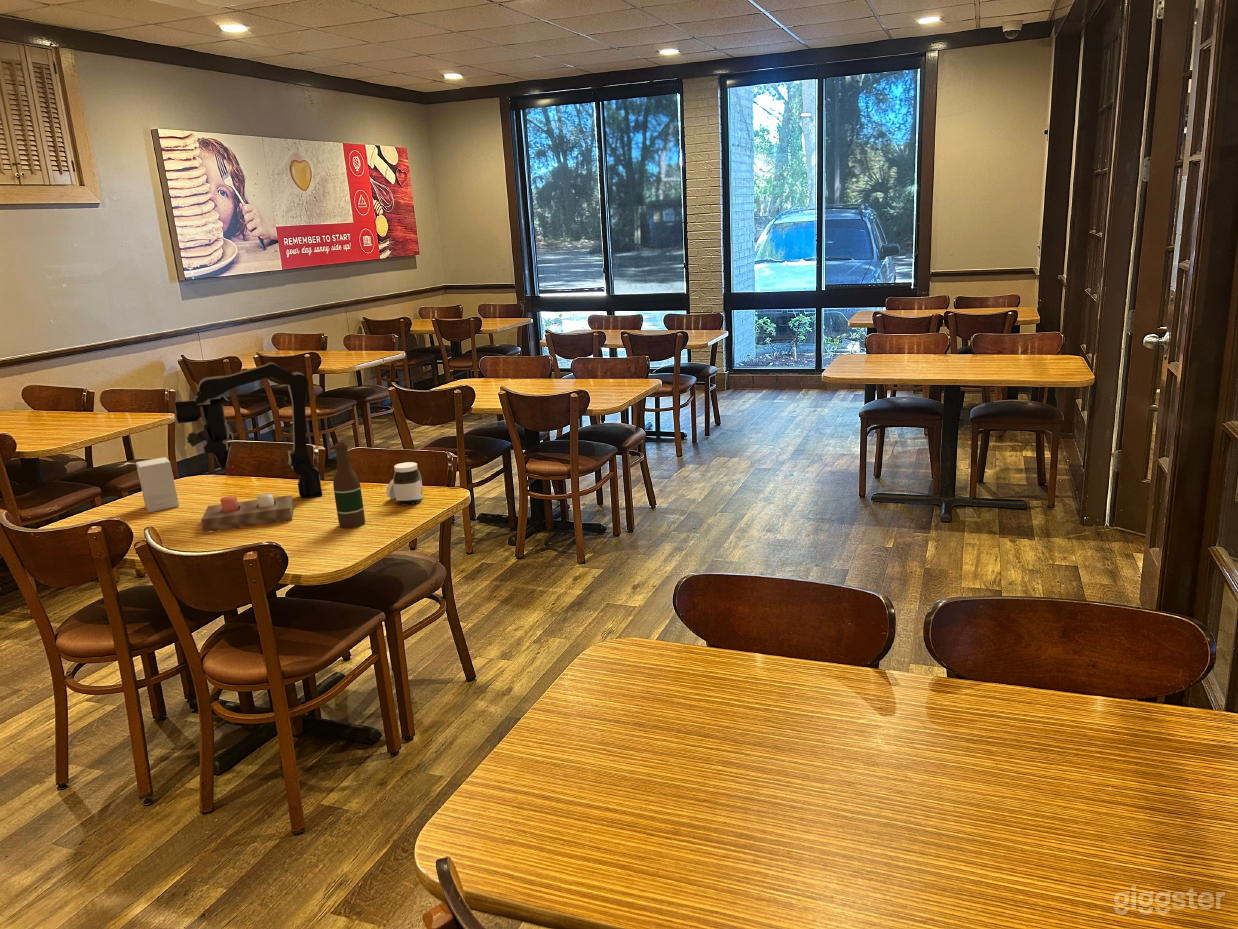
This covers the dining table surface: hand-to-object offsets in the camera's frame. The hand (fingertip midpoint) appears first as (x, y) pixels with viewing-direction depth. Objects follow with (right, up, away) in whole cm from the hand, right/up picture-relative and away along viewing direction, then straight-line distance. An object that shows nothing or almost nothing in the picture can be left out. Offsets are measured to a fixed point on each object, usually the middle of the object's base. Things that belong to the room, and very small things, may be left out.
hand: (223, 468), depth 273 cm
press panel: (+12, -15, -9) cm, 21 cm away
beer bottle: (+45, -16, -18) cm, 51 cm away
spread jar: (+55, -10, +2) cm, 56 cm away
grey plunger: (+17, -14, -7) cm, 23 cm away
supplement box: (-24, -12, +10) cm, 29 cm away
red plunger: (+7, -14, -10) cm, 19 cm away
